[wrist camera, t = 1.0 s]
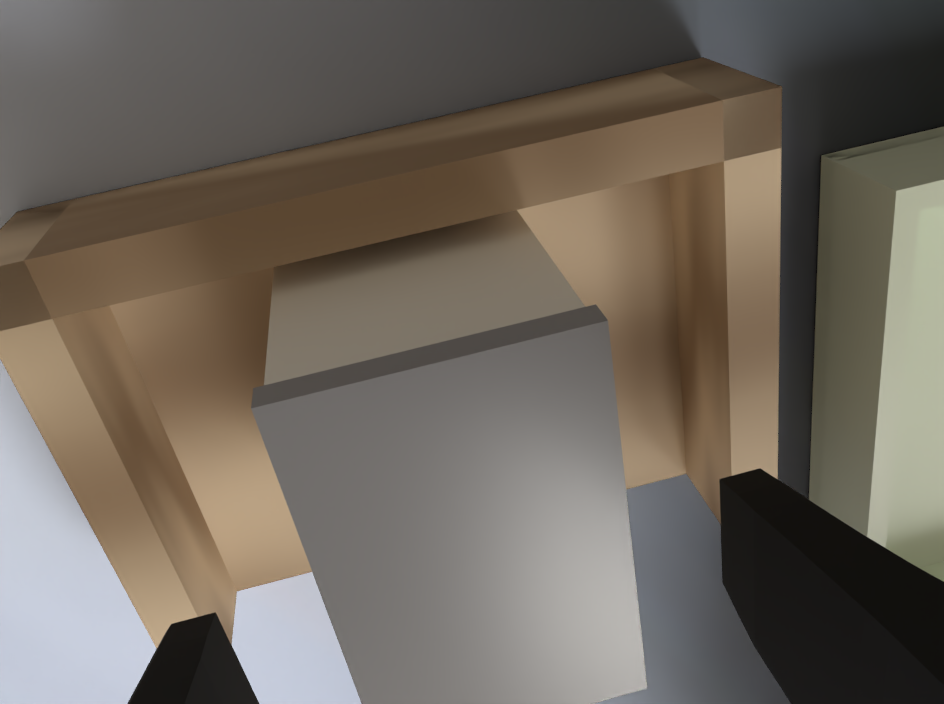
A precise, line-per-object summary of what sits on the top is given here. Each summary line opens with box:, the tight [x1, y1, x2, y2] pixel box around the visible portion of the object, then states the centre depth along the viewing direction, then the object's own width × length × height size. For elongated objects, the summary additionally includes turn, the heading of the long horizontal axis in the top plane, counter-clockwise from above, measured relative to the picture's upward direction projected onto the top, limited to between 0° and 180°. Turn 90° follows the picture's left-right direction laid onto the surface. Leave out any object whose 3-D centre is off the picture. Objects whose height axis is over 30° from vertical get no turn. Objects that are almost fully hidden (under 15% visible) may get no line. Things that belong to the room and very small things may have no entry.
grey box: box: [251, 210, 647, 704], centre depth 15 cm, size 8×5×6 cm, turn 10°
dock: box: [0, 57, 782, 648], centre depth 16 cm, size 10×13×3 cm
